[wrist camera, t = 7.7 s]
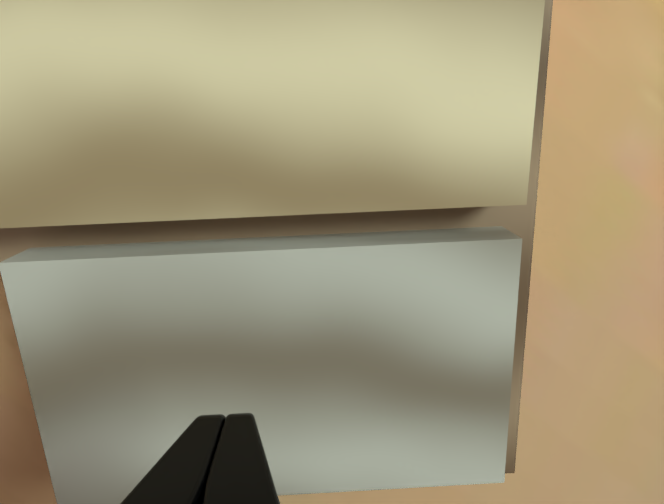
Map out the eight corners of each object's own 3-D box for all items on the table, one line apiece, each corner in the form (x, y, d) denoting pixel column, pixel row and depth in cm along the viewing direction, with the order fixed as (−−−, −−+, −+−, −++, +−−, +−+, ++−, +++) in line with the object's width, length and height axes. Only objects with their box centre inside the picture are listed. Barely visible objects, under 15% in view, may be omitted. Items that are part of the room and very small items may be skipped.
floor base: (470, 393, 22) (532, 506, 16) (114, 412, 21) (32, 535, 15) (502, -278, 15) (635, -554, 9) (-15, -265, 15) (-257, -544, 8)
